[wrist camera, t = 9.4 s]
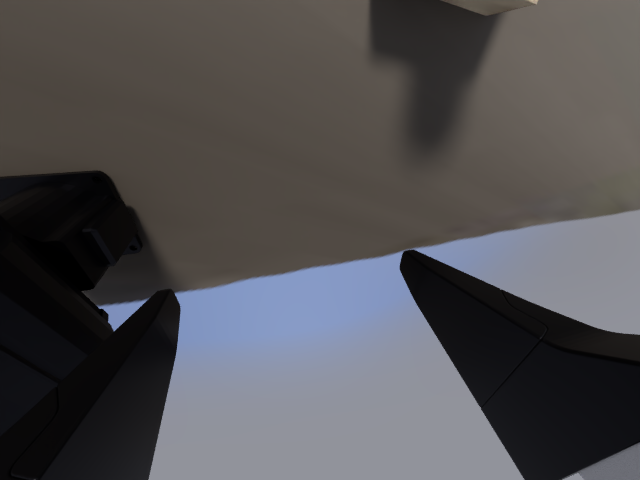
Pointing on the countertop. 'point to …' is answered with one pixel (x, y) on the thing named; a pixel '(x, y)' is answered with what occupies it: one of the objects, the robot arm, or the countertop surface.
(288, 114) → the countertop surface
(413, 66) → the countertop surface
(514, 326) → the robot arm
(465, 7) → the beech block
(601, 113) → the countertop surface
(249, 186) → the countertop surface
